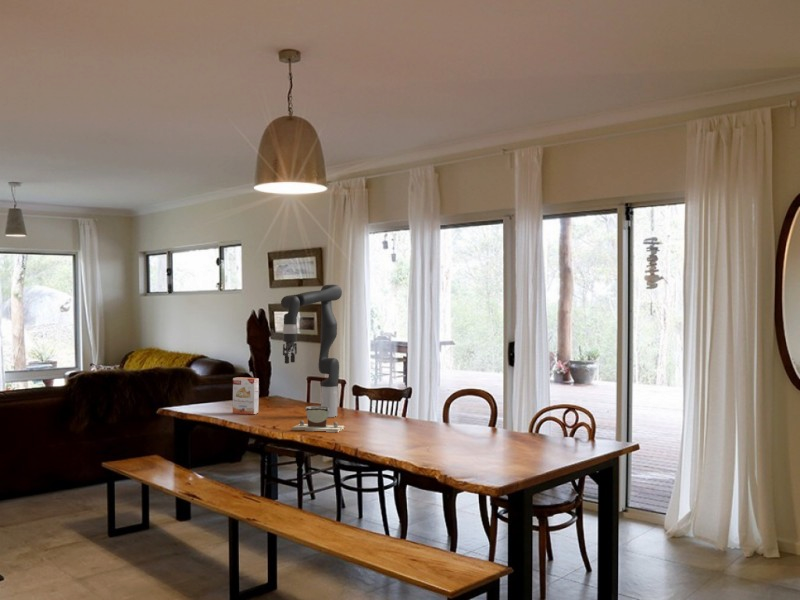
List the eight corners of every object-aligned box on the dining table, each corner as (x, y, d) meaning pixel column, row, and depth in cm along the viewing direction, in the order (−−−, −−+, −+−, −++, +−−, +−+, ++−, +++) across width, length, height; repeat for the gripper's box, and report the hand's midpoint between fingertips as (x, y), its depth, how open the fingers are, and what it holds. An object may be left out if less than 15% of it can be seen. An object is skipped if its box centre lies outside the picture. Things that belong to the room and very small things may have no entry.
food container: (331, 425, 349) (331, 405, 349) (328, 427, 343) (328, 407, 343) (307, 424, 350) (308, 405, 350) (304, 426, 344) (305, 407, 344)
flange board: (300, 426, 354) (300, 418, 354) (344, 428, 349) (344, 420, 349) (291, 430, 343) (292, 422, 343) (337, 432, 338) (337, 424, 338)
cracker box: (232, 413, 395) (232, 377, 396) (237, 412, 401) (237, 376, 402) (253, 415, 391) (254, 378, 392) (258, 413, 397) (259, 377, 397)
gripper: (291, 333, 359) (291, 364, 359) (301, 332, 373) (301, 362, 373) (278, 333, 361) (278, 363, 361) (288, 332, 375) (288, 361, 375)
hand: (289, 362), depth 367 cm, fingers open, 8 cm apart
